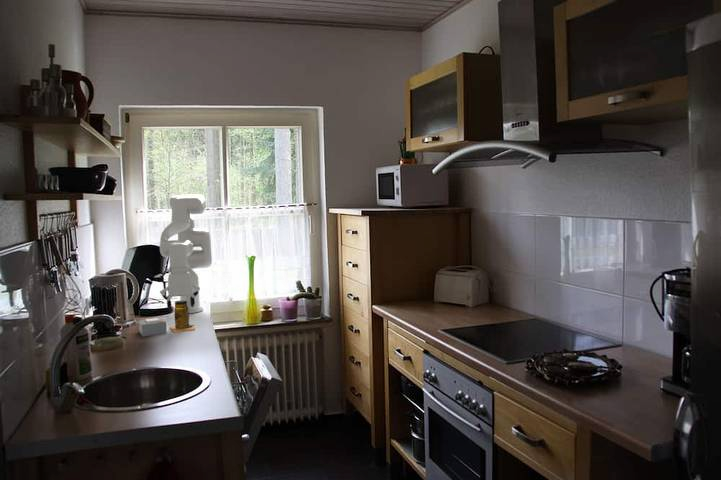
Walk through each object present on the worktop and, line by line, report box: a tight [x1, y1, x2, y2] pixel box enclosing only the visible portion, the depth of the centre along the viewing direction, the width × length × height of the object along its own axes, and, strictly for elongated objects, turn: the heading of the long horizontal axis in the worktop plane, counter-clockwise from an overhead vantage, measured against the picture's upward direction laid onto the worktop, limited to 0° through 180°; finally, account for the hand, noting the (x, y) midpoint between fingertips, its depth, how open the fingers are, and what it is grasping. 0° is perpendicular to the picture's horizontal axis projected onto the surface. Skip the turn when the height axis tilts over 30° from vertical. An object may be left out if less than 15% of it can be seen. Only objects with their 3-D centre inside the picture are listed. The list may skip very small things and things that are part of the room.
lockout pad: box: [169, 323, 196, 333], centre depth 269 cm, size 11×9×1 cm
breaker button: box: [144, 317, 159, 323], centre depth 264 cm, size 5×5×4 cm
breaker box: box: [138, 317, 167, 337], centre depth 264 cm, size 10×10×5 cm
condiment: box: [172, 300, 195, 329], centre depth 269 cm, size 7×8×12 cm
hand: (181, 307), depth 269 cm, fingers open, 9 cm apart
